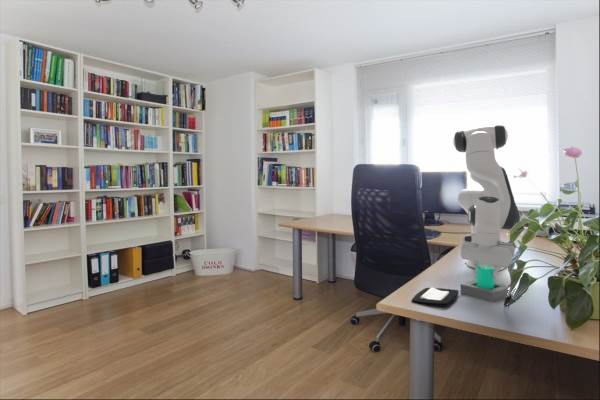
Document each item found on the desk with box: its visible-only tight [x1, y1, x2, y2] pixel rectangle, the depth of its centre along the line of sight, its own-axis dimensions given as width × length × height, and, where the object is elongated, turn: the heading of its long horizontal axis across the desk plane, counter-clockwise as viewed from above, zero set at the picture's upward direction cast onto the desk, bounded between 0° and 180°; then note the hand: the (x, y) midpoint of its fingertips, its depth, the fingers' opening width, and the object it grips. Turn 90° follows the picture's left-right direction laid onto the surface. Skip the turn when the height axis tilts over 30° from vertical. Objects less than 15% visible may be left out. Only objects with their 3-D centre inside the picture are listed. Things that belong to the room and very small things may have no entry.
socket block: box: [459, 279, 509, 303], centre depth 147 cm, size 13×13×4 cm
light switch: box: [411, 287, 459, 307], centre depth 142 cm, size 20×3×14 cm
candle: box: [476, 266, 495, 290], centre depth 146 cm, size 6×6×12 cm
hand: (485, 274), depth 146 cm, fingers open, 5 cm apart
